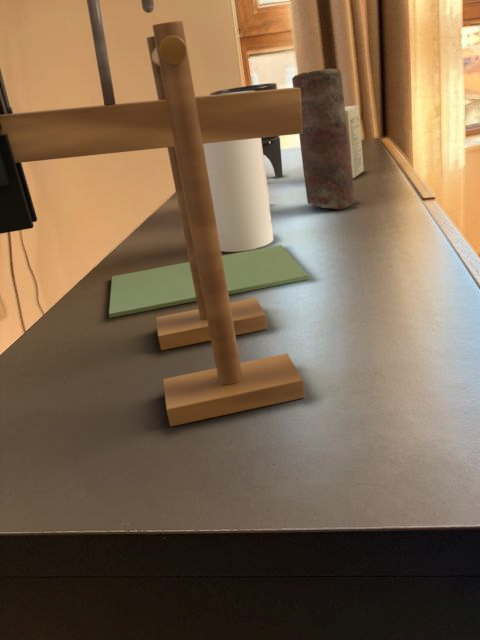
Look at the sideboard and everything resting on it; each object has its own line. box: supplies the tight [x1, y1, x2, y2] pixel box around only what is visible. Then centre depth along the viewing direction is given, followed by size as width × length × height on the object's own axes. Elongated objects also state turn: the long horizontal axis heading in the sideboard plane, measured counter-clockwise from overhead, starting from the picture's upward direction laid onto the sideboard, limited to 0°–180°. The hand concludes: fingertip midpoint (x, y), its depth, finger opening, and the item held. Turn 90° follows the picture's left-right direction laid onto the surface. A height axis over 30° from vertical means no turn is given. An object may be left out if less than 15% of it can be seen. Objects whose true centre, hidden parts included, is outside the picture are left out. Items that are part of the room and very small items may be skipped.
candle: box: [291, 68, 355, 211], centre depth 97 cm, size 8×7×20 cm
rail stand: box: [146, 20, 306, 427], centre depth 50 cm, size 19×10×26 cm, turn 11°
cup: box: [203, 138, 274, 253], centre depth 85 cm, size 8×8×16 cm
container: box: [226, 91, 271, 207], centre depth 104 cm, size 14×14×18 cm
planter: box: [209, 82, 283, 178], centre depth 126 cm, size 13×13×18 cm
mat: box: [108, 244, 310, 319], centre depth 76 cm, size 14×22×1 cm, turn 101°
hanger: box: [0, 0, 302, 164], centre depth 45 cm, size 2×24×12 cm, turn 101°
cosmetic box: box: [345, 104, 365, 179], centre depth 119 cm, size 6×4×12 cm
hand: (16, 226), depth 48 cm, fingers closed on hanger, 2 cm apart
